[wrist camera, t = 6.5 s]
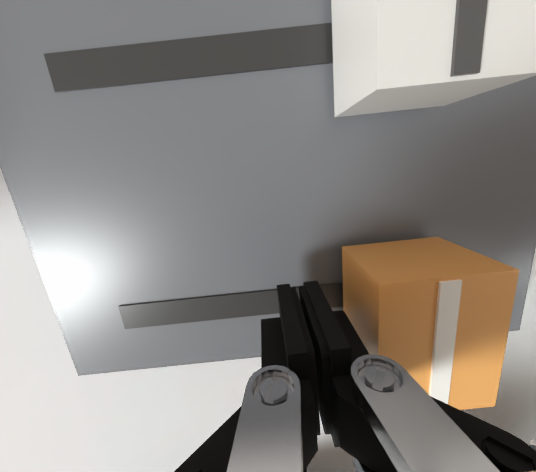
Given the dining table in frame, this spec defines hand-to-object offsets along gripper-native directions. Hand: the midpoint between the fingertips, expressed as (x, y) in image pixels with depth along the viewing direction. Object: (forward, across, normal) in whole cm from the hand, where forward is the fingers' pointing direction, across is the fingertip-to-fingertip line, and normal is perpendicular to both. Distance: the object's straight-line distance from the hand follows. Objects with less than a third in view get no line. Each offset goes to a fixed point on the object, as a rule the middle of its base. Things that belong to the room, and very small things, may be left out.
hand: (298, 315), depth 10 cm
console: (+4, 0, -5) cm, 6 cm away
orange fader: (+1, -4, 0) cm, 4 cm away
